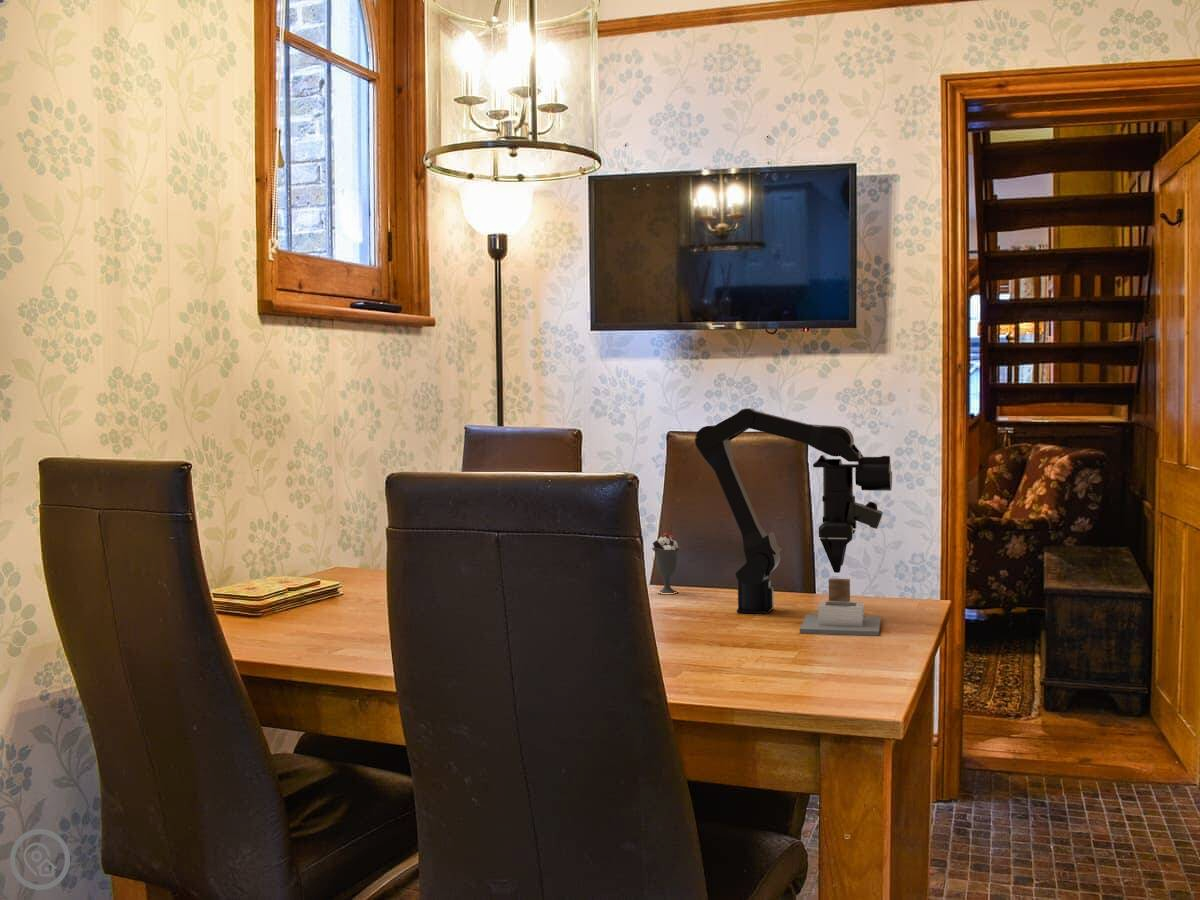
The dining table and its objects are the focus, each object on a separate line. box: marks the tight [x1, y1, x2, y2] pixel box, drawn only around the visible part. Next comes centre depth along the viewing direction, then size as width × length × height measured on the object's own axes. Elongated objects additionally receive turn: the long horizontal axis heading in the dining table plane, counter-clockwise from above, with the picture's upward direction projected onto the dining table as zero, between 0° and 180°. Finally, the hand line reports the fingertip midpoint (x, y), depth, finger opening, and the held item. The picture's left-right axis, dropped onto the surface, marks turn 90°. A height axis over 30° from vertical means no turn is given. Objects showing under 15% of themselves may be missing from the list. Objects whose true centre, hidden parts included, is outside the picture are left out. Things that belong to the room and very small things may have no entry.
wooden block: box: [828, 577, 851, 601], centre depth 218 cm, size 4×2×7 cm, turn 74°
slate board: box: [799, 613, 882, 637], centre depth 206 cm, size 14×14×1 cm
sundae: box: [651, 525, 682, 593], centre depth 246 cm, size 7×7×15 cm
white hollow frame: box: [817, 600, 865, 626], centre depth 206 cm, size 8×6×4 cm
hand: (838, 569), depth 218 cm, fingers open, 9 cm apart
